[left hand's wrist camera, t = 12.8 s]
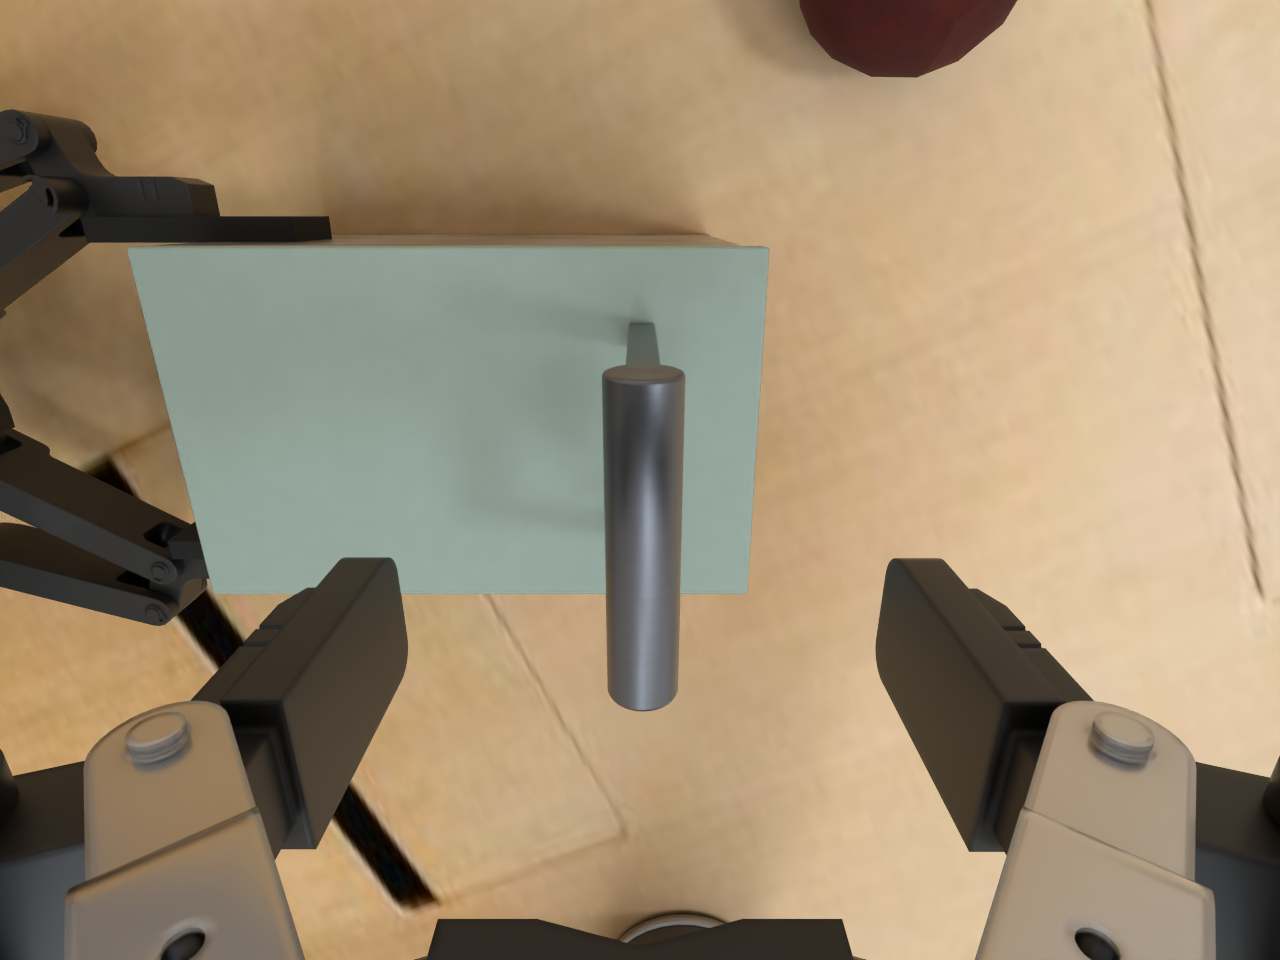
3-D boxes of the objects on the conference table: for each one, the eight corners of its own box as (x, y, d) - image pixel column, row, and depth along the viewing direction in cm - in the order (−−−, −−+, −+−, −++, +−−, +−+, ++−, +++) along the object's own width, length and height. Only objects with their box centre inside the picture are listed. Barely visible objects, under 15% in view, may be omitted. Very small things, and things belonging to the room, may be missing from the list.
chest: (707, 234, 29) (743, 245, 19) (699, 464, 33) (726, 577, 23) (322, 234, 29) (152, 244, 19) (358, 464, 33) (232, 577, 23)
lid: (762, 245, 19) (856, 270, 11) (742, 578, 23) (800, 781, 15) (151, 245, 19) (-214, 268, 11) (231, 578, 23) (3, 781, 15)
